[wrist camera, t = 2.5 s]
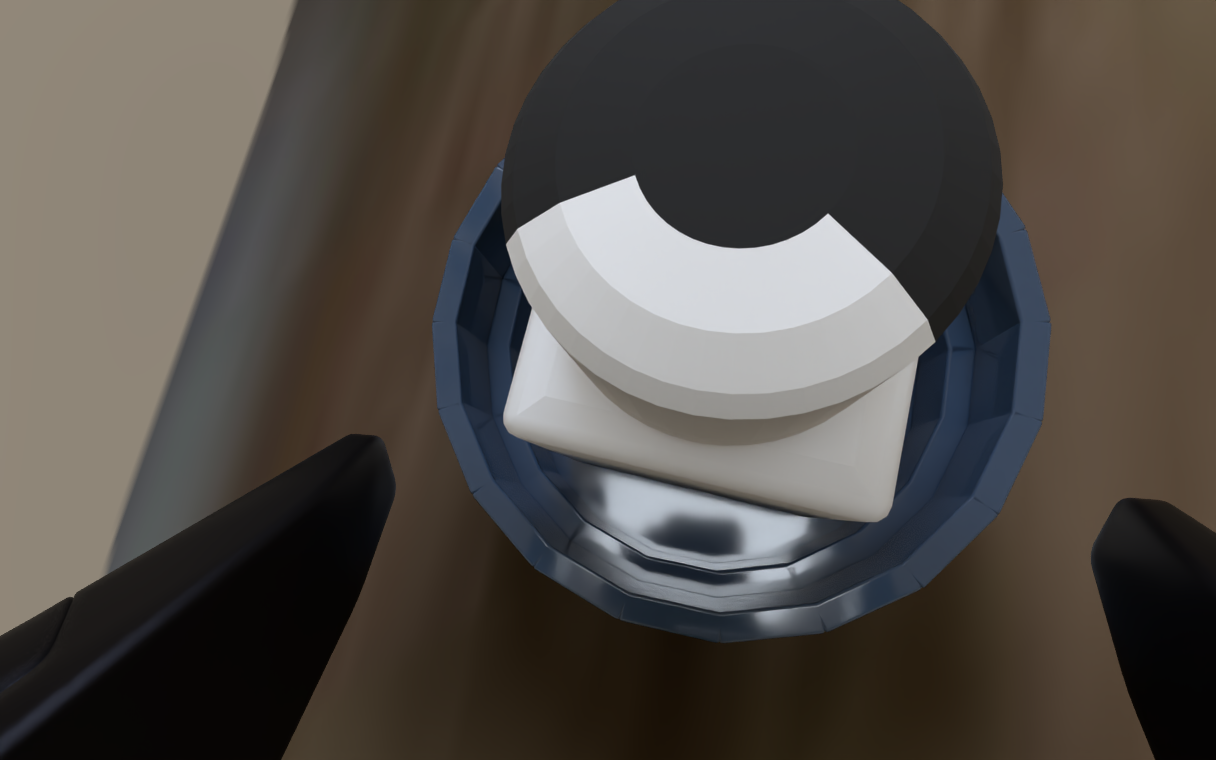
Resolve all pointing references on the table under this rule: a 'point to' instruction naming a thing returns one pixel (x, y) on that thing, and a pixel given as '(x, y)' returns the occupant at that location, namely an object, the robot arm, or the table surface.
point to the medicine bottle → (745, 243)
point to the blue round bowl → (726, 528)
